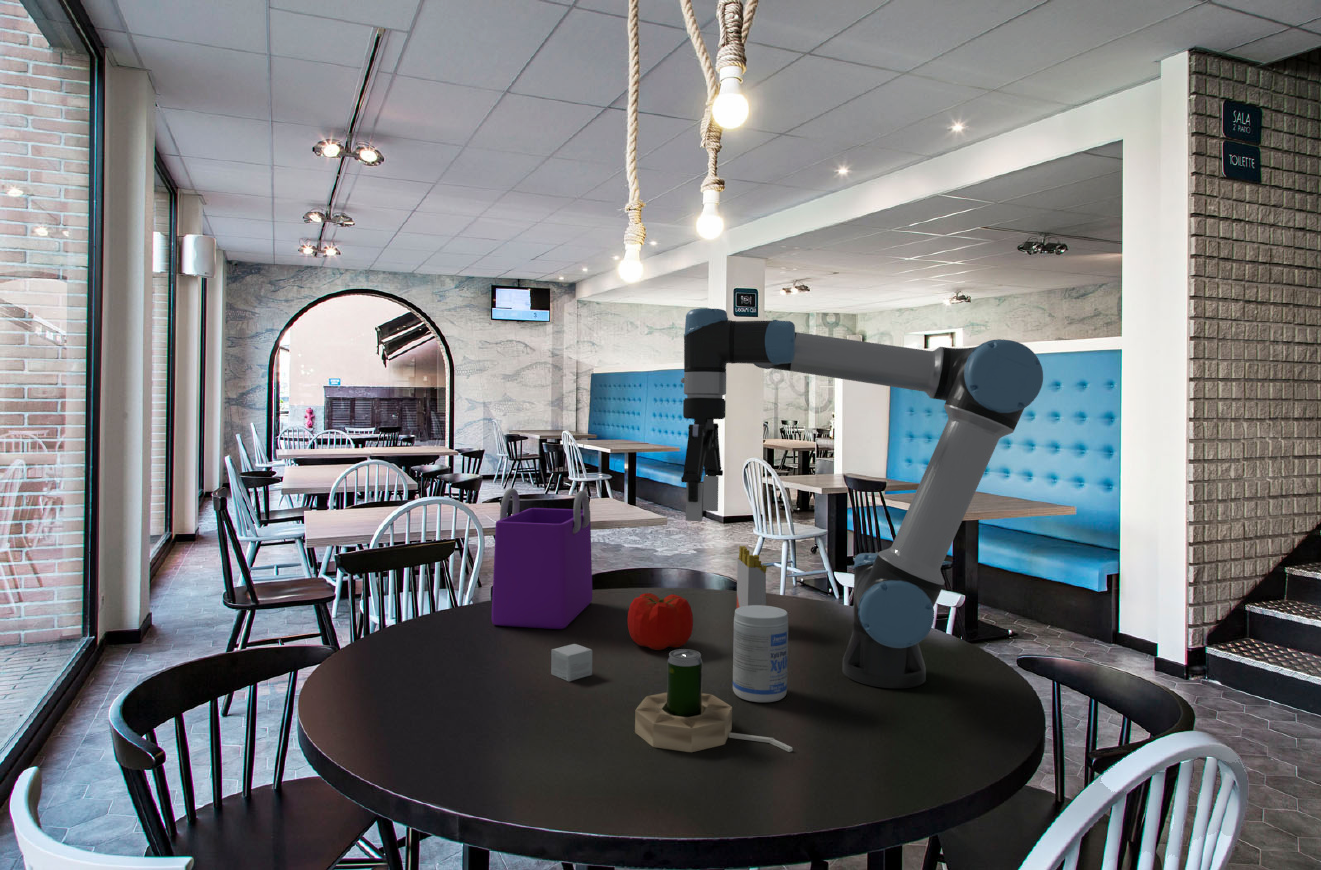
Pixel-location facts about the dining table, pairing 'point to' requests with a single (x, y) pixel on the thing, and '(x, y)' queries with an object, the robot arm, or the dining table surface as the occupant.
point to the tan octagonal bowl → (683, 724)
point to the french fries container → (750, 579)
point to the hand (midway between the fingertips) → (702, 515)
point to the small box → (571, 662)
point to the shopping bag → (541, 564)
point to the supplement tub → (760, 653)
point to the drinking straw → (761, 740)
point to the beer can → (684, 683)
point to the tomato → (660, 621)
